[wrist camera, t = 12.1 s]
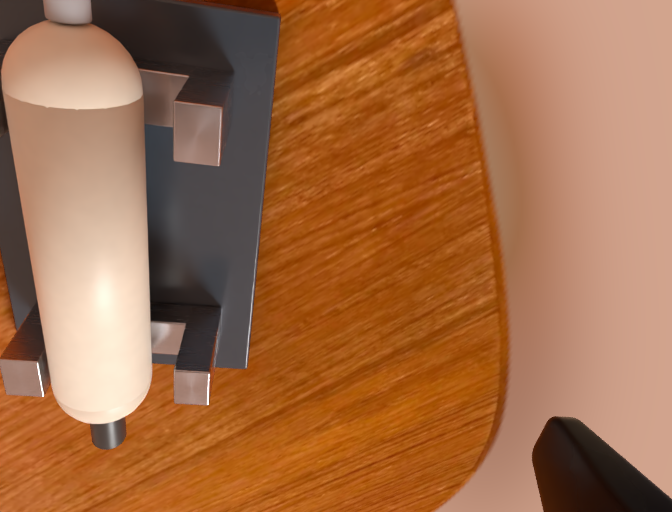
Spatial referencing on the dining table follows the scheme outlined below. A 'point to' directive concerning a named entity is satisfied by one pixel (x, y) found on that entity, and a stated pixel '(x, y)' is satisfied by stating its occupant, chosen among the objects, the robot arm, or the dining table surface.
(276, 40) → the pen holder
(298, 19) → the dining table surface
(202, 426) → the dining table surface
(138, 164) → the soldering pen
